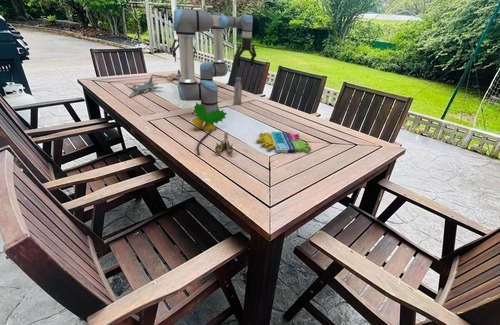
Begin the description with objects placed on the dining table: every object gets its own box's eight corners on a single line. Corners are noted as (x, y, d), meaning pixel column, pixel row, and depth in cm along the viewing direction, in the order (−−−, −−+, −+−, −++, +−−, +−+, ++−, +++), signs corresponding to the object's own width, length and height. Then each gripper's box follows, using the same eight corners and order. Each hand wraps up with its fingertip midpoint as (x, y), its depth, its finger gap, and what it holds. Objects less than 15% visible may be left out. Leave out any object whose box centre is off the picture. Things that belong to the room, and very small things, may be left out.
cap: (236, 80, 208) (236, 77, 207) (241, 80, 207) (242, 77, 206) (234, 81, 204) (234, 78, 203) (240, 82, 203) (240, 78, 202)
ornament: (218, 133, 171) (224, 110, 169) (221, 134, 163) (227, 111, 161) (186, 125, 162) (192, 101, 160) (189, 126, 155) (195, 101, 153)
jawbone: (234, 135, 144) (233, 125, 135) (233, 160, 138) (232, 151, 129) (217, 135, 144) (216, 125, 135) (216, 160, 138) (214, 150, 129)
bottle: (235, 102, 218) (236, 77, 208) (242, 103, 217) (243, 78, 207) (232, 104, 213) (233, 78, 203) (239, 105, 211) (240, 79, 202)
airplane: (123, 87, 237) (120, 75, 231) (158, 84, 250) (157, 74, 245) (127, 99, 208) (125, 87, 203) (167, 96, 221) (166, 84, 216)
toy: (193, 70, 288) (180, 75, 262) (193, 77, 292) (181, 82, 266) (170, 68, 293) (155, 72, 267) (170, 75, 297) (156, 79, 271)
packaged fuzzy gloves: (313, 150, 142) (258, 149, 139) (312, 153, 143) (258, 152, 140) (301, 132, 164) (254, 130, 161) (301, 134, 165) (254, 133, 162)
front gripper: (198, 33, 207) (199, 61, 218) (165, 31, 201) (168, 60, 211) (199, 33, 201) (200, 62, 211) (165, 32, 194) (168, 62, 205)
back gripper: (236, 37, 195) (234, 67, 205) (262, 38, 208) (259, 66, 218) (230, 36, 200) (229, 65, 210) (256, 37, 213) (254, 64, 224)
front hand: (184, 61), depth 211 cm, fingers open, 13 cm apart
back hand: (245, 66), depth 214 cm, fingers open, 13 cm apart
